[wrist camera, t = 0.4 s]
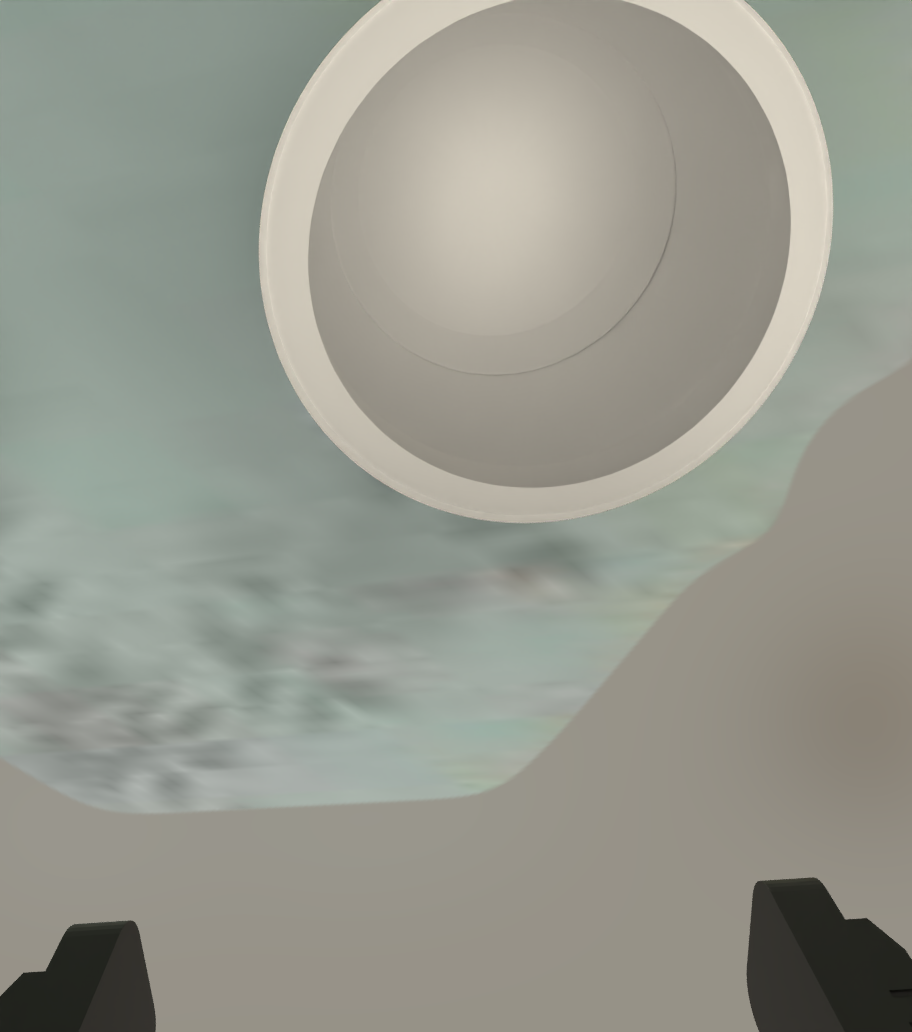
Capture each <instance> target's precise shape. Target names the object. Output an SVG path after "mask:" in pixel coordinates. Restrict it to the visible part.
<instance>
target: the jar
mask: <svg viewBox="0 0 912 1032" xmlns="http://www.w3.org/2000/svg"><path fill="white" fill-rule="evenodd" d="M832 226H833V186H832V175H831V166H830V160H829V154H828V149H827V144H826V139H825V135H824V131H823V128H822V124H821V121H820V118H819V115H818V112H817V109H816V106H815V103H814V101H813V98H812V96H811V93H810V91H809V89H808V87H807V85H806V82H805V80H804V78H803V76H802V74H801V73H800V71H799V69H798V67H797V65H796V64H795V62H794V60H793V59H792V57H791V55H790V54H789V52H788V51H787V49H786V48H785V46H784V45H783V43H782V42H781V41H780V39H779V38H778V37H777V35H776V34H775V33H774V31H773V30H772V29H771V28H770V27H769V25H768V24H767V23H766V22H765V21H764V20H763V19H762V18H761V16H760V15H759V14H758V13H757V12H756V11H755V10H754V9H753V8H752V7H751V6H750V5H749V4H748V3H746V2H745V1H744V0H382V1H380V2H379V3H378V4H377V5H375V6H374V7H373V8H372V9H371V10H370V11H368V12H367V13H366V14H365V15H364V16H363V17H362V18H361V19H360V20H359V21H358V22H357V23H356V24H355V25H354V26H353V27H352V28H351V29H350V30H349V31H348V32H347V33H346V34H345V35H344V36H343V37H342V38H341V39H340V40H339V42H338V43H337V44H336V45H335V46H334V48H333V49H332V50H331V51H330V52H329V54H328V55H327V56H326V58H325V59H324V60H323V62H322V63H321V64H320V66H319V67H318V68H317V70H316V71H315V73H314V74H313V76H312V77H311V79H310V80H309V82H308V84H307V85H306V87H305V88H304V90H303V92H302V94H301V95H300V97H299V99H298V101H297V103H296V104H295V106H294V108H293V110H292V112H291V114H290V116H289V119H288V121H287V123H286V125H285V128H284V130H283V132H282V135H281V137H280V140H279V143H278V145H277V148H276V151H275V154H274V157H273V160H272V164H271V167H270V171H269V175H268V179H267V183H266V188H265V192H264V198H263V204H262V211H261V219H260V231H259V271H260V282H261V291H262V297H263V303H264V308H265V313H266V318H267V322H268V326H269V329H270V333H271V336H272V339H273V342H274V345H275V348H276V351H277V354H278V356H279V359H280V361H281V363H282V366H283V368H284V370H285V372H286V374H287V377H288V379H289V381H290V382H291V384H292V386H293V388H294V390H295V392H296V393H297V395H298V397H299V398H300V400H301V402H302V403H303V405H304V406H305V408H306V409H307V411H308V412H309V414H310V415H311V416H312V418H313V419H314V420H315V422H316V423H317V424H318V425H319V427H320V428H321V429H322V430H323V432H324V433H325V434H326V435H327V436H328V437H329V438H330V439H331V440H332V442H333V443H334V444H335V445H336V446H337V447H338V448H339V449H340V450H341V451H342V452H343V453H345V454H346V455H347V456H348V457H349V458H350V459H351V460H352V461H354V462H355V463H356V464H357V465H358V466H360V467H361V468H362V469H364V470H365V471H366V472H368V473H369V474H370V475H372V476H373V477H375V478H376V479H378V480H379V481H381V482H382V483H384V484H385V485H387V486H389V487H390V488H392V489H394V490H396V491H398V492H399V493H401V494H403V495H405V496H407V497H409V498H412V499H414V500H416V501H418V502H421V503H423V504H426V505H428V506H431V507H434V508H436V509H439V510H442V511H446V512H449V513H453V514H456V515H460V516H465V517H469V518H475V519H480V520H487V521H495V522H507V523H541V522H553V521H562V520H568V519H574V518H580V517H585V516H589V515H593V514H597V513H601V512H604V511H608V510H611V509H614V508H617V507H620V506H623V505H625V504H628V503H631V502H633V501H636V500H638V499H640V498H643V497H645V496H647V495H649V494H651V493H653V492H655V491H657V490H659V489H661V488H663V487H665V486H667V485H669V484H670V483H672V482H674V481H675V480H677V479H679V478H680V477H682V476H684V475H685V474H687V473H688V472H690V471H691V470H693V469H694V468H696V467H697V466H698V465H700V464H701V463H702V462H704V461H705V460H706V459H708V458H709V457H710V456H712V455H713V454H714V453H715V452H716V451H718V450H719V449H720V448H721V447H722V446H723V445H725V444H726V443H727V442H728V441H729V440H730V439H731V438H732V437H733V436H734V435H735V434H736V433H737V432H738V431H739V430H740V429H741V428H742V427H743V426H744V425H745V424H746V423H747V422H748V421H749V420H750V419H751V418H752V416H753V415H754V414H755V413H756V412H757V411H758V409H759V408H760V407H761V406H762V404H763V403H764V402H765V401H766V399H767V398H768V397H769V395H770V394H771V393H772V391H773V390H774V388H775V387H776V386H777V384H778V383H779V381H780V380H781V378H782V377H783V375H784V373H785V372H786V370H787V368H788V367H789V365H790V363H791V362H792V360H793V358H794V356H795V354H796V352H797V351H798V349H799V347H800V345H801V343H802V340H803V338H804V336H805V334H806V332H807V329H808V327H809V325H810V322H811V320H812V317H813V314H814V312H815V309H816V306H817V303H818V300H819V297H820V293H821V290H822V286H823V282H824V278H825V274H826V269H827V264H828V259H829V253H830V246H831V238H832Z"/></svg>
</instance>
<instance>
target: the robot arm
mask: <svg viewBox="0 0 912 1032" xmlns="http://www.w3.org/2000/svg"><path fill="white" fill-rule="evenodd" d="M752 900H753V901H752V911H751V912H752V913H751V924H750V936H749V950H748V961H747V986H748V994H749V999H750V1004H751V1008H752V1012H753V1015H754V1018H755V1021H756V1025H757V1027H758V1030H759V1032H912V959H911V958H910V957H909V955H908V953H907V952H906V950H905V949H904V948H902V947H901V946H900V945H899V944H898V943H896V942H895V941H894V940H893V939H892V938H890V937H889V936H888V935H887V934H885V933H884V932H883V931H882V930H881V929H879V928H878V927H877V926H876V925H875V924H873V923H872V922H871V921H870V920H868V919H867V918H863V919H848V920H845V919H844V917H843V915H842V914H841V912H840V910H839V909H838V907H837V906H836V904H835V902H834V901H833V899H832V898H831V896H830V894H829V893H828V891H827V890H826V888H825V886H824V885H823V884H822V883H821V882H820V880H818V879H817V878H798V879H783V880H768V881H758V882H757V883H756V885H755V886H754V890H753V899H752ZM155 1030H156V1018H155V1009H154V1003H153V999H152V994H151V989H150V983H149V979H148V974H147V969H146V964H145V959H144V954H143V949H142V944H141V939H140V934H139V930H138V927H137V925H136V923H135V922H134V921H117V922H104V923H103V922H102V923H87V924H74V925H72V926H70V927H69V928H68V929H67V931H66V932H65V934H64V936H63V937H62V940H61V941H60V943H59V945H58V947H57V949H56V951H55V953H54V955H53V957H52V959H51V961H50V963H49V965H48V967H47V969H46V971H44V972H29V973H23V974H22V975H21V976H20V977H19V978H18V979H17V980H16V981H15V982H14V983H13V984H12V985H11V986H10V987H9V988H8V989H7V990H6V991H5V992H4V993H3V994H2V995H1V996H0V1032H155Z"/></svg>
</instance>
